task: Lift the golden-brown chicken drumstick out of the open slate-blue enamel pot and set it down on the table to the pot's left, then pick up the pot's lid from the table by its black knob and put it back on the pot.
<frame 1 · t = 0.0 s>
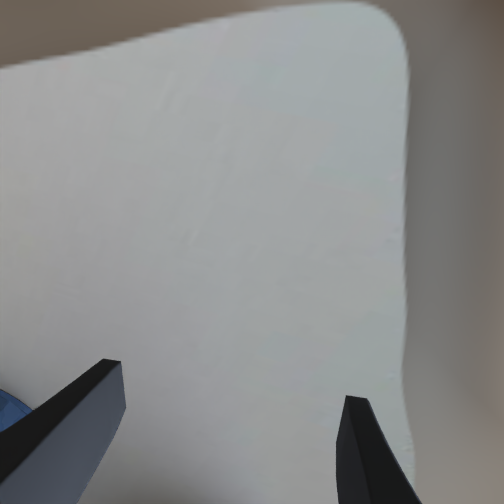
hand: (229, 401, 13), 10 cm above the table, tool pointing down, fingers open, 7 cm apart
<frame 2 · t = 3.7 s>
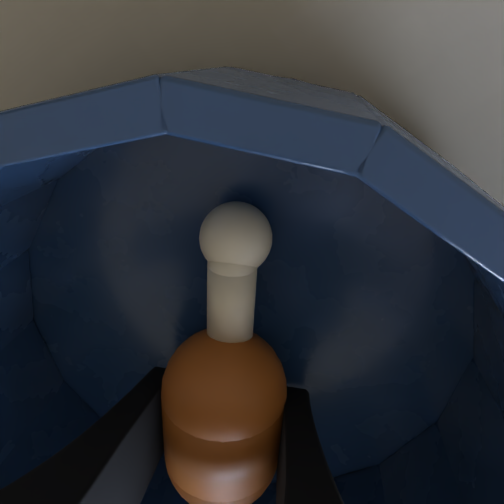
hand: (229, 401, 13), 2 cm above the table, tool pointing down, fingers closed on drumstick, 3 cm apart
drumstick: (235, 376, 14), resting on pot, touching gripper
pot: (239, 327, 14), on the table
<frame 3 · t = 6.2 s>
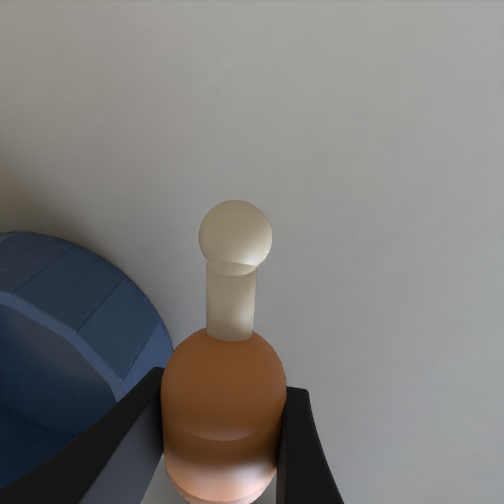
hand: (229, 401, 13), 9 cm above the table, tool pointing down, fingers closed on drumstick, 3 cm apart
drumstick: (234, 376, 14), point 8 cm above the table, touching gripper
pot: (55, 346, 26), on the table
when the fingers open (1 cm above the table, at t = 8.6 s): drumstick stays where it is, on the table.
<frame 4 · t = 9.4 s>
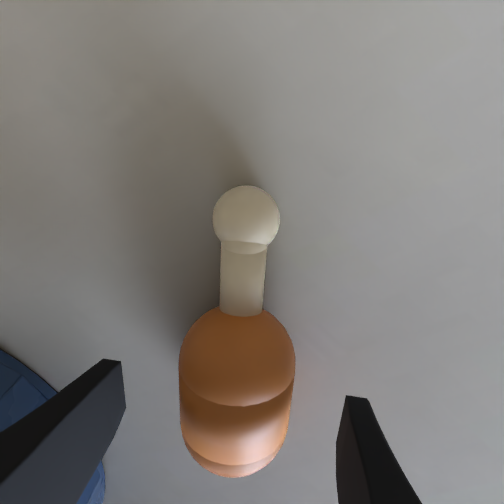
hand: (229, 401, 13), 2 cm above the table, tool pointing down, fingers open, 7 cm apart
drumstick: (240, 353, 15), on the table, tilted 5°
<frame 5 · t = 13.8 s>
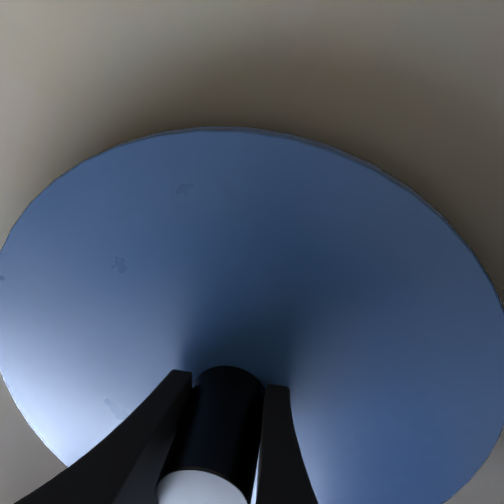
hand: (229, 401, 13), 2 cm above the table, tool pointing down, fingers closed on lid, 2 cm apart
lid: (233, 380, 14), point 1 cm above the table, touching gripper
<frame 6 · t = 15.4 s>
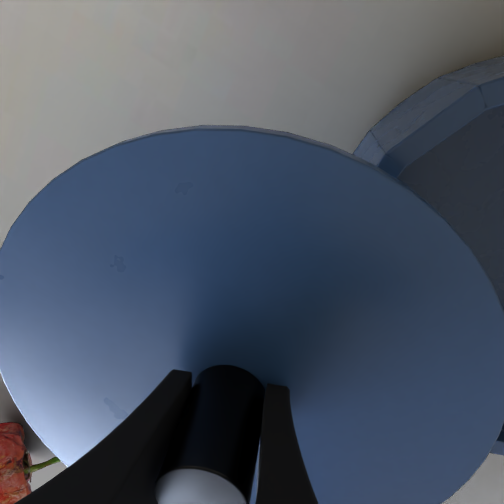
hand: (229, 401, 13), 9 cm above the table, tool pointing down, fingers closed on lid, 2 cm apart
pomegranate: (31, 437, 31), on the table
pot: (495, 238, 19), on the table
lid: (233, 380, 14), point 8 cm above the table, touching gripper
when the fingers open (6 cm above the table, at t = 17.5 s): lid stays where it is, resting on pot.
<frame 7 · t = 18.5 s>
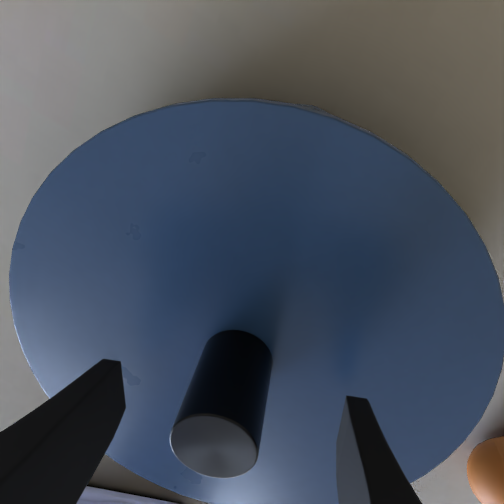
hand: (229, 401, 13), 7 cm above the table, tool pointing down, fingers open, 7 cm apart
lid: (240, 346, 14), point 5 cm above the table, touching pot
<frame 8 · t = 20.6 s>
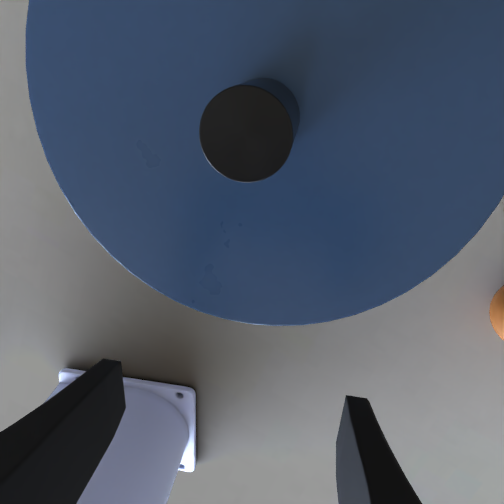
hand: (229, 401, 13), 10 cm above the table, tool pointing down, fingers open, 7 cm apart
lid: (265, 115, 14), point 5 cm above the table, touching pot
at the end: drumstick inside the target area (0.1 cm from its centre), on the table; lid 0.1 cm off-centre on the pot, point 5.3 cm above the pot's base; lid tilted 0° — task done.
